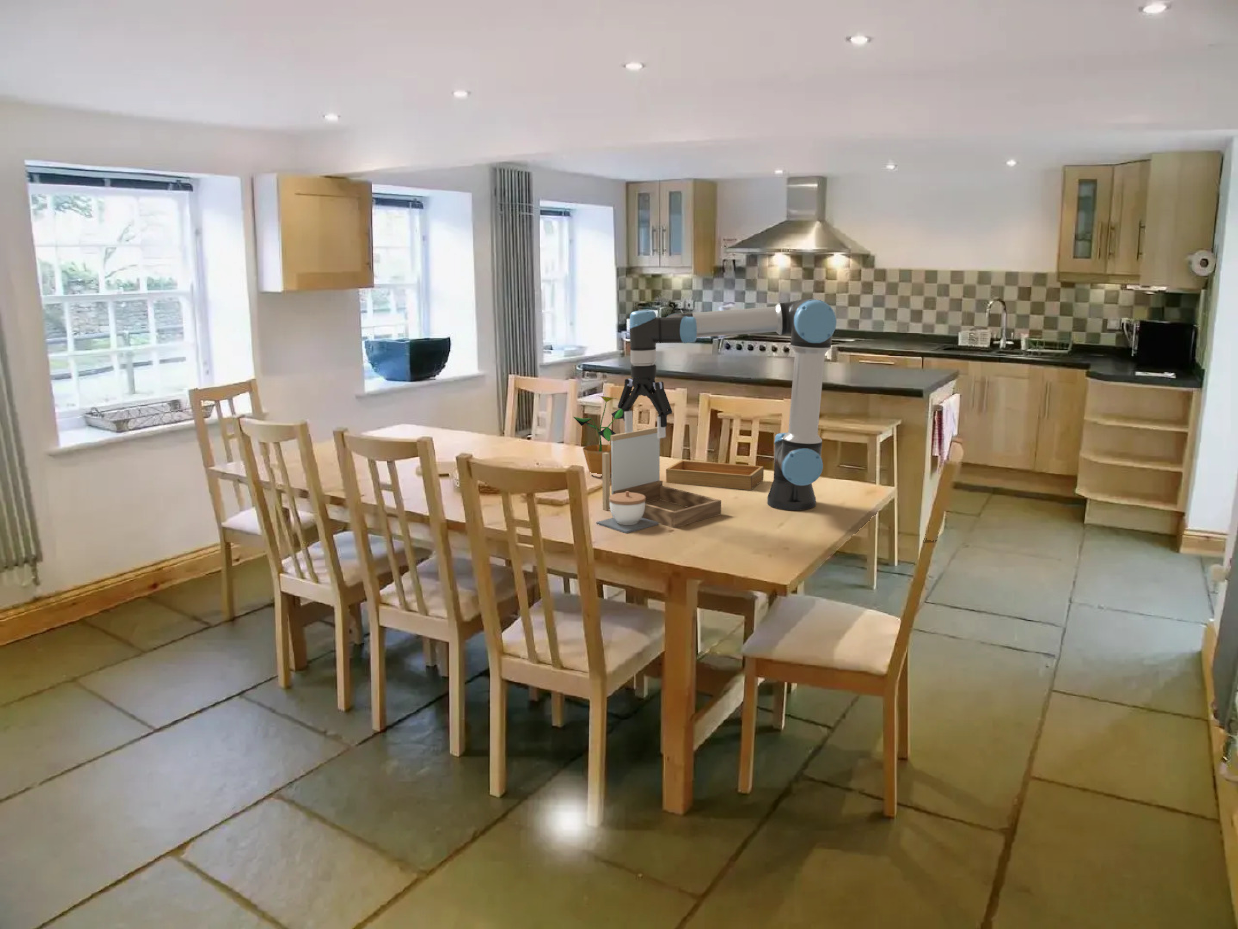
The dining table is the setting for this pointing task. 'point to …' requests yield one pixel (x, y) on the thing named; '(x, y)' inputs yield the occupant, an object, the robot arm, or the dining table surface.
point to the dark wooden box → (697, 503)
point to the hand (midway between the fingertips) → (644, 435)
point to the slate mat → (627, 528)
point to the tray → (715, 474)
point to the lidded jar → (627, 507)
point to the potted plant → (595, 451)
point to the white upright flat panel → (631, 461)
